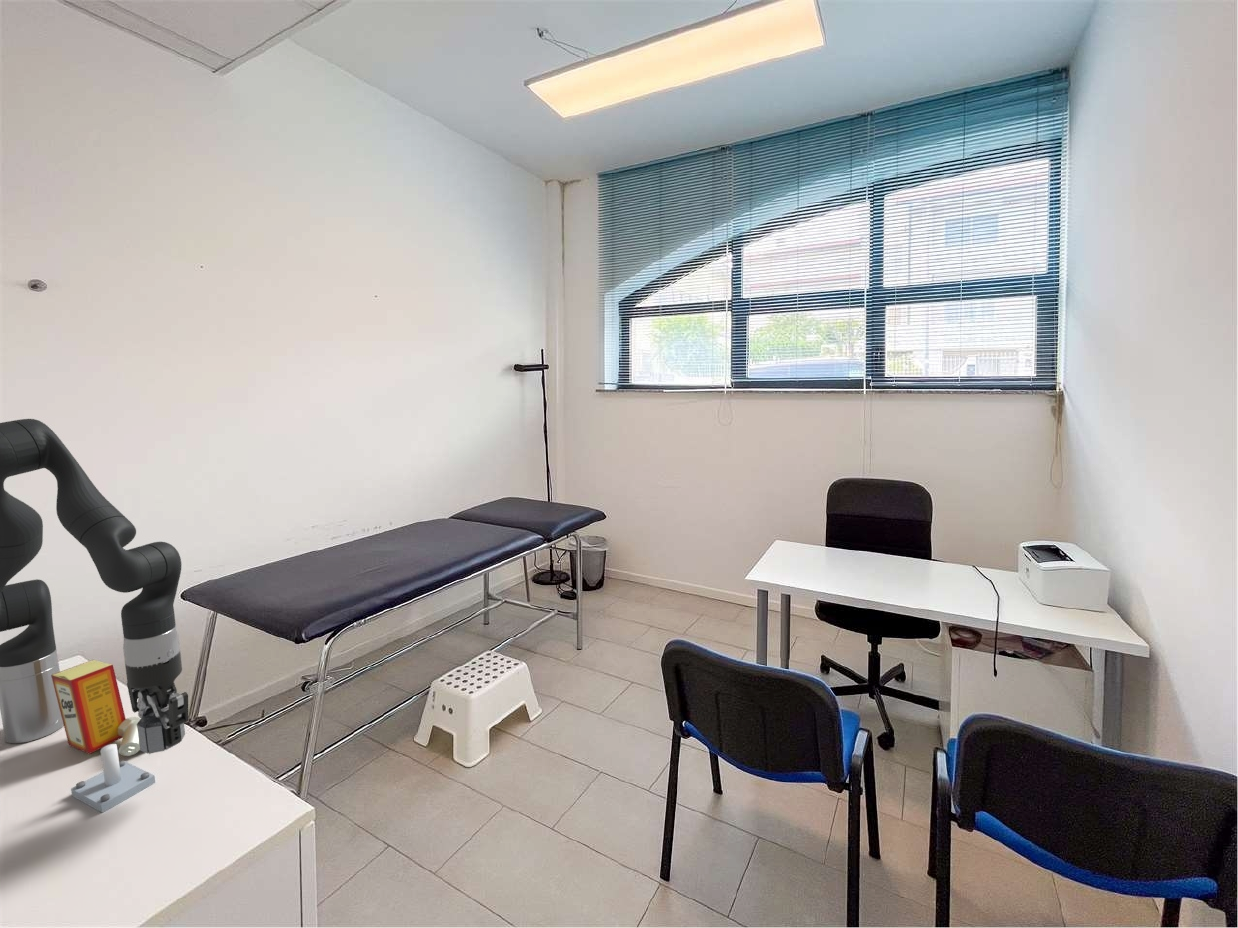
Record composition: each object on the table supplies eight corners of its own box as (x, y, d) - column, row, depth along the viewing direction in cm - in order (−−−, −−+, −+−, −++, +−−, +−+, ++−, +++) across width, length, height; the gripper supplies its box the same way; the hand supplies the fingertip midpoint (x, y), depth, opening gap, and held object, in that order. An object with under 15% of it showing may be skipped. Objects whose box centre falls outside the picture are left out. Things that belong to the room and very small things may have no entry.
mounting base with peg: (71, 795, 99) (65, 753, 98) (125, 767, 106) (119, 728, 105) (102, 812, 95) (96, 769, 94) (155, 782, 103) (150, 741, 101)
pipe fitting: (130, 764, 108) (165, 740, 114) (129, 748, 107) (164, 725, 113) (99, 750, 109) (135, 727, 116) (98, 734, 108) (135, 712, 115)
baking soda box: (68, 745, 113) (50, 673, 111) (108, 726, 118) (92, 658, 116) (89, 753, 108) (70, 678, 106) (129, 734, 114) (112, 663, 112)
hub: (133, 747, 98) (130, 722, 97) (171, 727, 103) (168, 703, 102) (153, 756, 95) (150, 731, 95) (191, 736, 101) (188, 712, 100)
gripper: (103, 654, 96) (114, 740, 98) (152, 673, 90) (163, 763, 93) (153, 636, 102) (162, 716, 105) (201, 653, 97) (209, 737, 100)
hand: (162, 738), depth 99 cm, fingers closed on hub, 6 cm apart
